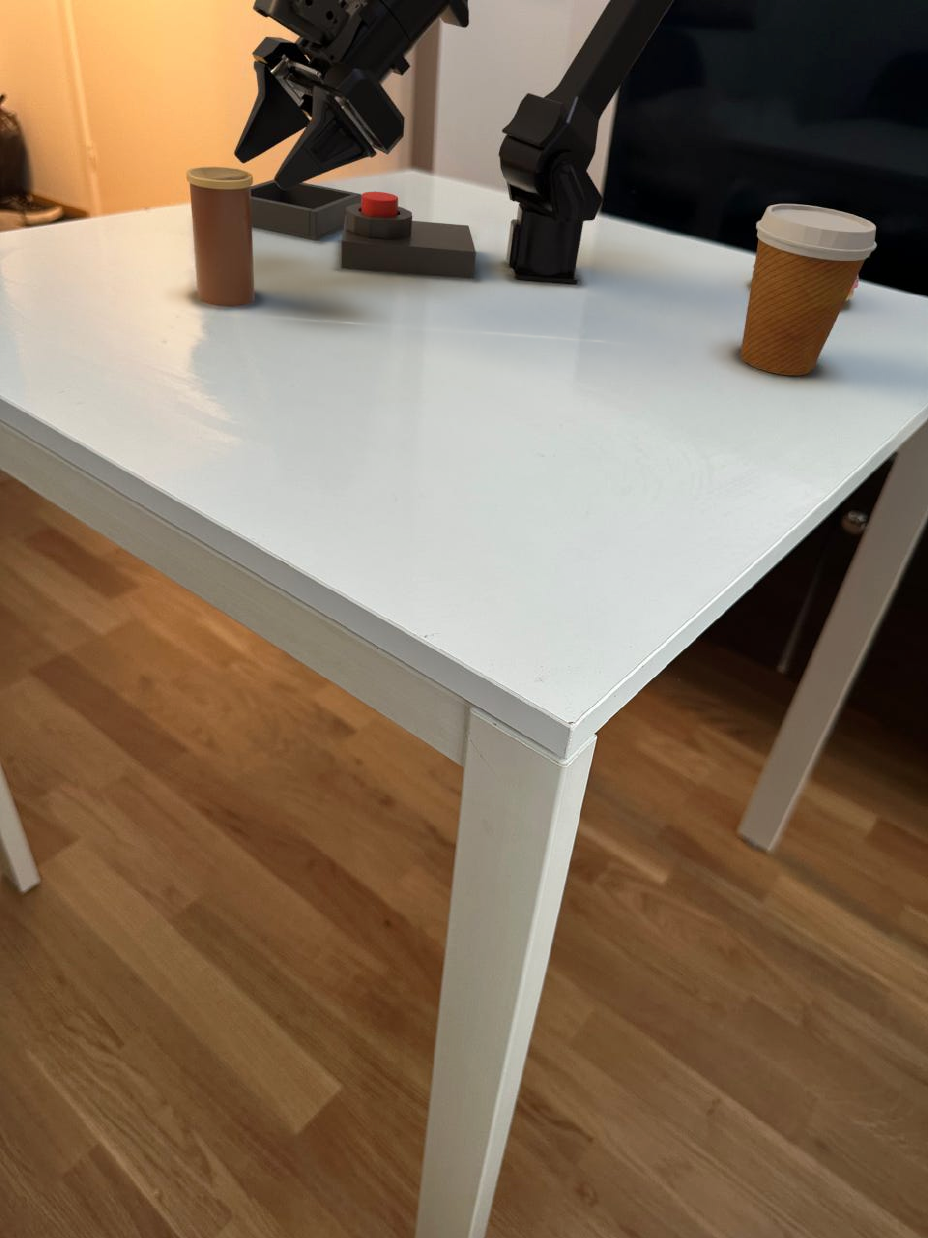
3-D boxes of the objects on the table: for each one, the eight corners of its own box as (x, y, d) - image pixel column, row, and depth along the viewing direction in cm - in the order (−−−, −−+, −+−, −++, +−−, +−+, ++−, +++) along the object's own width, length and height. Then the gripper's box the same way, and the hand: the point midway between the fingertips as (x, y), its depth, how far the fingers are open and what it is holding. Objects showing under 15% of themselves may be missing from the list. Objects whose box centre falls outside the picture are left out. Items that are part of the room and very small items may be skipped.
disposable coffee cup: (773, 388, 76) (821, 235, 69) (699, 346, 82) (736, 202, 75) (855, 377, 80) (908, 232, 73) (778, 338, 86) (820, 201, 79)
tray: (361, 222, 105) (362, 193, 103) (316, 241, 97) (316, 211, 95) (279, 205, 108) (278, 177, 106) (228, 223, 99) (227, 193, 98)
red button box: (466, 251, 100) (470, 207, 97) (473, 279, 92) (477, 232, 89) (344, 241, 98) (345, 196, 95) (341, 269, 90) (342, 220, 88)
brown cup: (260, 291, 83) (256, 169, 77) (253, 310, 79) (248, 183, 73) (200, 286, 82) (192, 163, 76) (190, 305, 78) (180, 177, 72)
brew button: (397, 211, 94) (398, 193, 93) (397, 220, 91) (398, 201, 90) (361, 208, 93) (362, 190, 92) (360, 217, 90) (361, 198, 89)
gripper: (273, -82, 75) (148, 70, 76) (375, -68, 62) (223, 113, 64) (358, 39, 83) (244, 173, 84) (463, 72, 70) (327, 229, 72)
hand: (257, 171), depth 76 cm, fingers open, 9 cm apart
